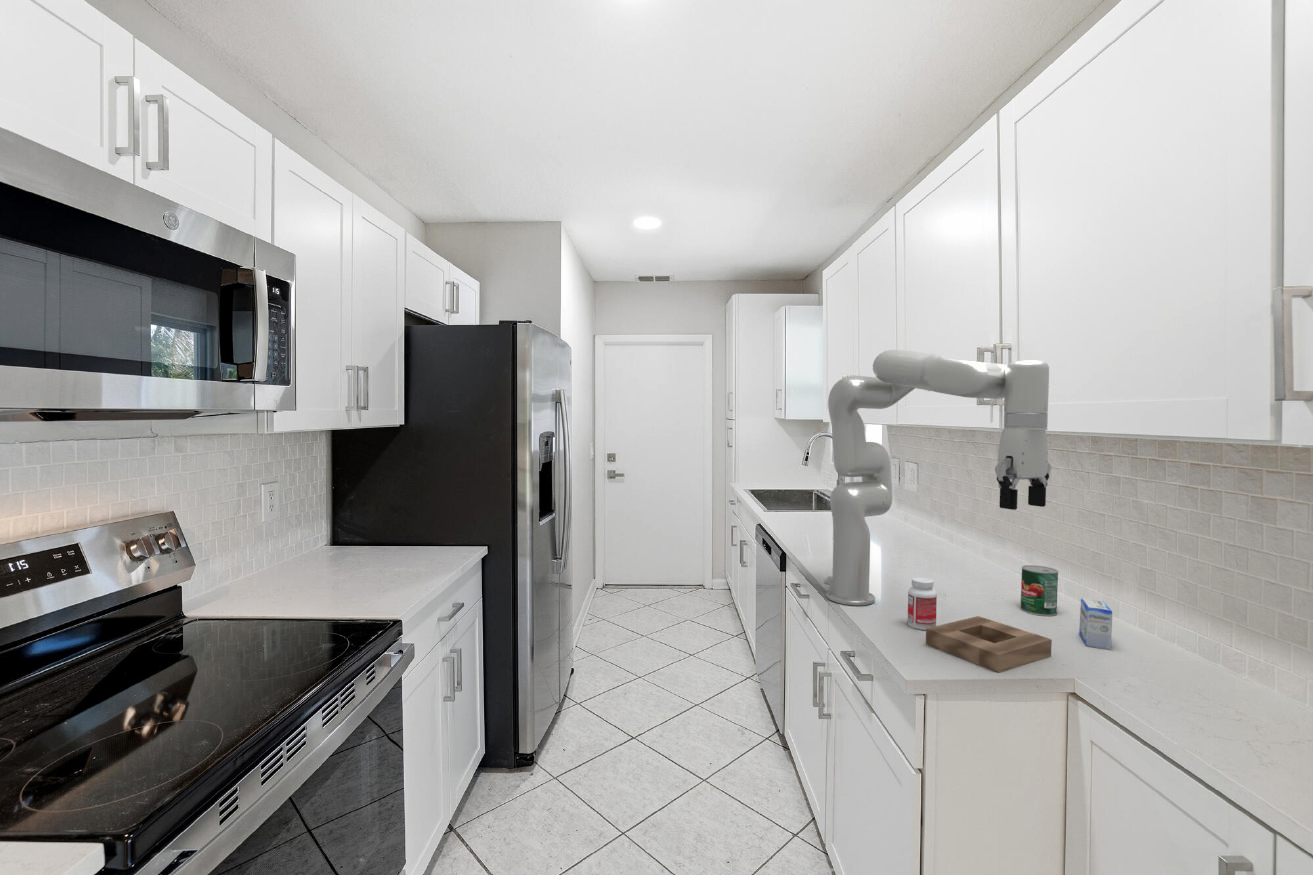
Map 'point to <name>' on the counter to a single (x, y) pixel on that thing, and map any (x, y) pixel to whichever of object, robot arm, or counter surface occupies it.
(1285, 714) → the counter surface
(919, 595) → the pill bottle
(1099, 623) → the medicine box
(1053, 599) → the canned tomato
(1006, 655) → the walnut frame
